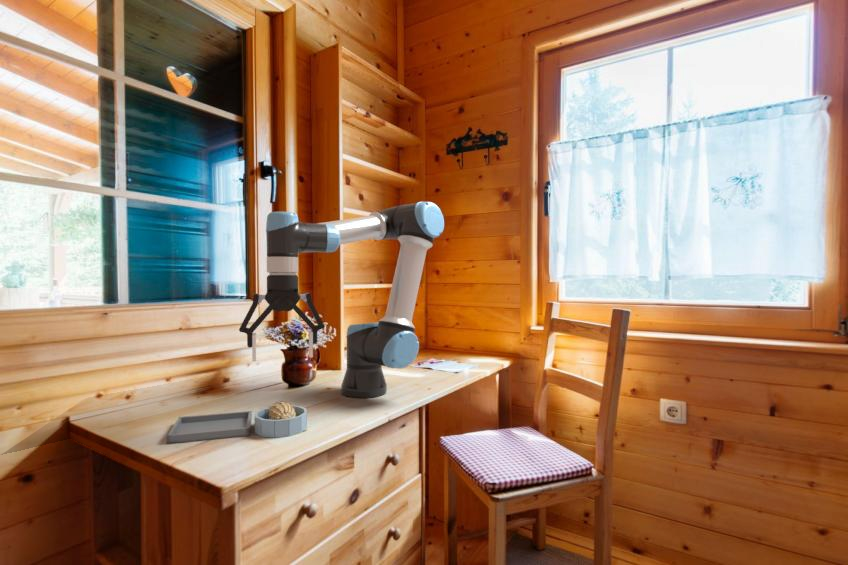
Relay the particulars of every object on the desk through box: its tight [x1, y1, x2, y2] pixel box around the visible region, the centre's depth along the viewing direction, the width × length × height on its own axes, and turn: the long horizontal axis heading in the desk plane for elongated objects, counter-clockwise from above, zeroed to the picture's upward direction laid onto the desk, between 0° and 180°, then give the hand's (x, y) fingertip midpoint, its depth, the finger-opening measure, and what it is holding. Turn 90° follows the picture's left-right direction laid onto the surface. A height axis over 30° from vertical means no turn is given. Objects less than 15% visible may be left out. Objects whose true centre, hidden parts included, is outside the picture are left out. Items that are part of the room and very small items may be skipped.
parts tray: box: [166, 410, 253, 445], centre depth 108 cm, size 17×14×2 cm
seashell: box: [268, 400, 296, 420], centre depth 109 cm, size 8×6×10 cm
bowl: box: [254, 404, 308, 438], centre depth 109 cm, size 12×12×4 cm
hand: (283, 358), depth 109 cm, fingers open, 13 cm apart
